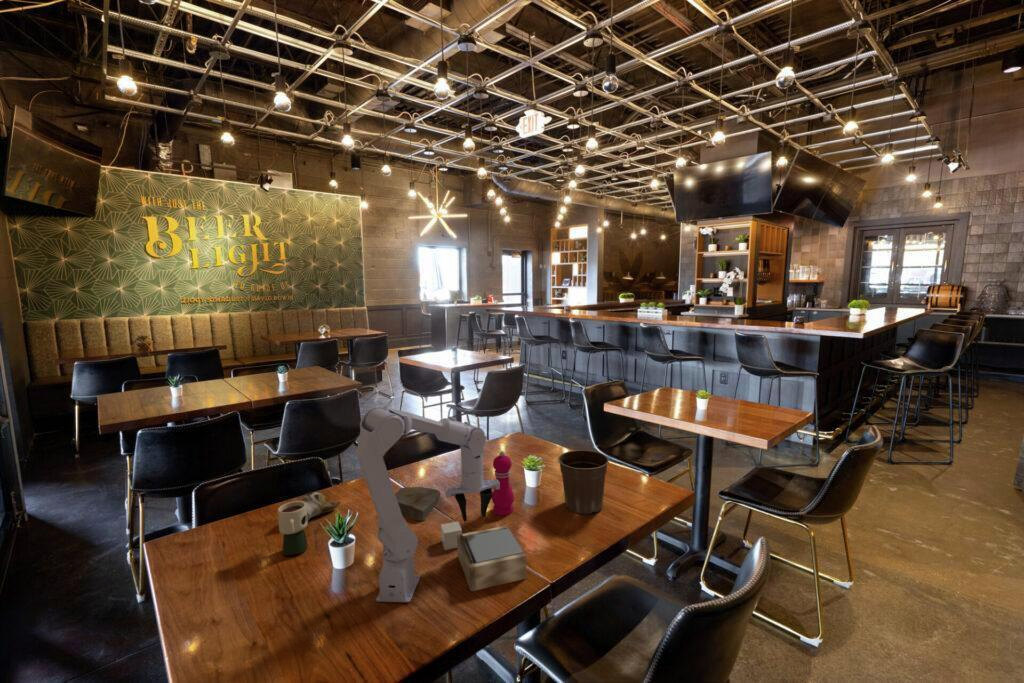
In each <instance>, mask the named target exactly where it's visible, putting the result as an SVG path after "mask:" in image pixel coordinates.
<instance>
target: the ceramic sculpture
mask: <svg viewBox="0 0 1024 683" xmlns="http://www.w3.org/2000/svg"><path fill="white" fill-rule="evenodd" d="M300 501H303V502H305V503H306V509H307V522H309V520H310V519H311V518H314V517H317V516H319V515H321V514H325V513H329V512H331V511H333V510H335V509H336V508H337V507H338V506H339V504H340V503H341V501H338V502H335V501H334V502H333V501H329V502H327V501H326V496H325V495H324V494H323V493H321V492H316V491H314V492H312V491H308V492H307V493H305V494H304V495H303V496H302V499H301V500H300Z"/></svg>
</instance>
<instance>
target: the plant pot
mask: <svg viewBox="0 0 1024 683" xmlns="http://www.w3.org/2000/svg"><path fill="white" fill-rule="evenodd" d="M557 461H558V463H559V468H560V473H561V476H562V477H561V478H562V486H563V494H564V503H565V505H564V506H565V508H567V509H568V510H569V511H570V512H572V513H574V514H579V515H592V514H593V513H599V512H600V511H602V510H603V507H604V496H605V495H604V494H605V483H606V482H605V481H606V474H607V472H608V471H607V470H608V469H607V468H608V464H609V463H610V459H609V457H608V456H607V455H606V454H604V453H601V452H598V451H595V450H587V449H586V450H585V449H578V450H576V449H575V450H570V451H566V452H563V453H561V454H560V455H559V456H558V457H557Z"/></svg>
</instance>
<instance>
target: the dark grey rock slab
mask: <svg viewBox="0 0 1024 683" xmlns="http://www.w3.org/2000/svg"><path fill="white" fill-rule="evenodd" d="M395 496H396V499H397V502H398V505H399V507H400V510H401V513H402V516H403V517H405V516H406V517H405V518H408V519H410V518H411V520H414V521H418V522H419V521H420V522H424V521H425V520H426V519H427V518H428V516H429V515H430V514H431V513H432V512H433V509H434V508H435V507H436V506H437V504H438V503H439V502H440V499H441V492H440V490H438V489H433V488H432V487H431V488H430V487H429V488H428V487H423V486H411V487H410V486H409V487H408V486H407V487H406V486H405V487H401V488H399V490H398V491H397V492H396V493H395ZM430 512H431V513H430ZM426 517H427V518H426Z"/></svg>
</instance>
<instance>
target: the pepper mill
mask: <svg viewBox="0 0 1024 683" xmlns="http://www.w3.org/2000/svg"><path fill="white" fill-rule="evenodd" d="M512 465H513V464H512V459H511V458H510V456H507V455H506V454H505V451H503V450H501V451H500V452H499V455H497V456H495V457H494V459H493V460H492V467H493V469H494V476H495V477H496V479H495V480H498V481H499V482H500V489H497V490H496V489H493V491H492V492H493V497H492V498H491V501H492V503H493V513H494V514H495V515H498V516H501V517H502V516H508V515H509V516H510V515H511V514H512V513H513V511H514V506H513V504H514V501H515V494H514V491H513V489H512V487H511V484H510V476H511V470H510V469H511V468H512Z"/></svg>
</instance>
